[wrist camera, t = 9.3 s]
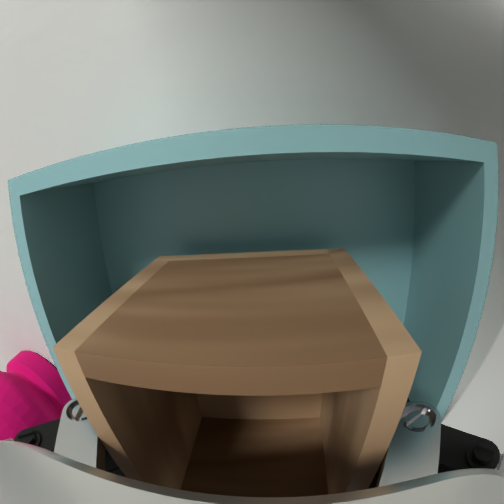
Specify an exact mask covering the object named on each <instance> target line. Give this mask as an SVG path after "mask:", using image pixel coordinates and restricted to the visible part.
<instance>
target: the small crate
mask: <svg viewBox="0 0 504 504" xmlns="http://www.w3.org/2000/svg"><path fill="white" fill-rule="evenodd" d="M53 349H54V352H55V354H56V357H57V359H58V361H59V363H60V366H61V368H62V370H63V372H64V375H65V377H66V379H67V381H68V383H69V385H70V387H71V389H72V391H73V393H74V395H75V397H76V399H77V401H78V403H79V404H80V406H81V408H82V410H83V412H84V414H85V415H86V417H87V419H88V421H89V422H90V424H91V426H92V427H93V429H94V431H95V432H96V434H97V435H98V437H99V439H100V440H101V442H102V443H103V445H104V446H105V448H106V449H107V451H108V452H109V454H110V455H111V457H112V458H113V460H114V461H115V462H116V464H117V465H118V467H119V468H120V469H121V471H122V472H123V473H124V475H125V476H126V477H127V478H130V479H133V480H137V481H141V482H145V483H150V484H154V485H159V486H163V487H168V488H174V489H179V490H185V491H192V492H199V493H206V494H215V495H225V496H239V497H305V496H319V495H329V494H338V493H345V492H352V491H359V490H365V489H368V487H369V486H370V484H371V482H372V480H373V478H374V476H375V474H376V472H377V470H378V468H379V466H380V464H381V462H382V460H383V458H384V456H385V454H386V451H387V449H388V447H389V445H390V442H391V440H392V438H393V435H394V433H395V431H396V428H397V426H398V423H399V421H400V418H401V415H402V413H403V410H404V407H405V405H406V402H407V399H408V396H409V393H410V390H411V387H412V384H413V381H414V377H415V374H416V371H417V367H418V364H419V360H420V356H421V353H422V351H421V350H420V348H419V347H418V345H417V344H416V342H415V341H414V340H413V338H412V337H411V335H410V334H409V332H408V331H407V330H406V328H405V327H404V325H403V324H402V323H401V321H400V320H399V318H398V317H397V316H396V314H395V313H394V312H393V310H392V309H391V308H390V306H389V305H388V304H387V302H386V301H385V300H384V298H383V297H382V296H381V294H380V293H379V292H378V290H377V289H376V288H375V286H374V285H373V284H372V282H371V281H370V280H369V279H368V277H367V276H366V275H365V273H364V272H363V271H362V270H361V268H360V267H359V266H358V265H357V263H356V262H355V261H354V260H353V258H352V257H351V256H350V255H349V253H348V252H347V251H346V250H345V249H344V248H335V249H312V250H290V251H267V252H244V253H221V254H198V255H175V256H159V257H158V258H156V259H155V260H154V261H153V262H151V263H150V264H149V265H148V266H146V267H145V268H144V269H143V270H142V271H140V272H139V273H138V274H137V275H135V276H134V277H133V278H132V279H130V280H129V281H128V282H127V283H126V284H124V285H123V286H122V287H121V288H120V289H118V290H117V291H116V292H115V293H114V294H112V295H111V296H110V297H109V298H108V299H107V300H105V301H104V302H103V303H102V304H101V305H100V306H98V307H97V308H96V309H95V310H94V311H93V312H91V313H90V314H89V315H88V316H87V317H86V318H85V319H83V320H82V321H81V322H80V323H79V324H78V325H77V326H76V327H74V328H73V329H72V330H71V331H70V332H69V333H68V334H67V335H65V336H64V337H63V338H62V339H61V340H60V341H59V342H58V343H57V344H56V345H55V346H53Z"/></svg>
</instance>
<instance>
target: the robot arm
mask: <svg viewBox="0 0 504 504" xmlns="http://www.w3.org/2000/svg"><path fill="white" fill-rule="evenodd" d="M0 504H504V454H500V453H499V449H498V448H497V446H496V445H495V444H494V443H493V442H492V441H489V440H487V439H484V438H480V437H478V436H475V435H472V434H468V433H466V432H463V431H460V430H457V429H454V428H451V427H448V426H445V425H443V424H441V416H440V413H439V411H438V409H437V408H436V407H434V406H433V405H432V404H430V403H428V402H424V401H410V400H409V398H408V399H407V402H406V405H405V407H404V410H403V413H402V415H401V418H400V421H399V423H398V426H397V428H396V431H395V433H394V435H393V438H392V440H391V442H390V445H389V447H388V449H387V451H386V454H385V456H384V458H383V460H382V462H381V464H380V466H379V468H378V470H377V472H376V474H375V476H374V478H373V480H372V482H371V484H370V486H369V487H368V489H365V490H359V491H352V492H345V493H338V494H329V495H319V496H305V497H239V496H225V495H215V494H206V493H199V492H192V491H185V490H179V489H174V488H168V487H163V486H159V485H154V484H150V483H145V482H141V481H137V480H133V479H130V478H127V477H126V476H125V475H124V473H123V472H122V471H121V469H120V468H119V467H118V465H117V464H116V462H115V461H114V460H113V458H112V457H111V455H110V454H109V452H108V451H107V449H106V448H105V446H104V445H103V443H102V442H101V440H100V439H99V437H98V435H97V434H96V432H95V431H94V429H93V427H92V426H91V424H90V422H89V421H88V419H87V417H86V415H85V414H84V412H83V410H82V408H81V406H80V404H79V403H78V401H77V399H76V398H74V399H72V400H70V401H69V402H68V403H67V404H66V405H65V406H64V408H63V410H62V415H61V418H60V419H57V420H53V421H50V422H47V423H43V424H40V425H36V426H33V427H29V428H26V429H24V430H22V431H20V432H19V433H18V434H17V435H16V437H15V439H14V440H13V439H12V438H10V439H6V440H2V441H0Z"/></svg>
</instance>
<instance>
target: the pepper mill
mask: <svg viewBox="0 0 504 504" xmlns="http://www.w3.org/2000/svg"><path fill="white" fill-rule="evenodd" d="M70 400H72V398H71V396H70V394H69V392H68V391H67V389H66V387H65V385H64V383H63V380H62V378H61V376H60V374H59V372H58V370H57V369H56V368H55V367H54V366H53V365H52V364H51V363H50V362H48V361H47V360H46V359H45V358H43V357H42V356H40V355H38V354H37V353H34V352H31V351H21V352H20V353H19V354H18V355H16V356H15V357H14V358H13V359H12V360H11V361H10V362H9V363H8V364H7V372H2V371H0V441H2V440H6V439H10V438H12V439H13V440H14V439H15V437H16V435H17V434H18V433H19V432H20V431H22V430H24V429H26V428H29V427H33V426H36V425H40V424H43V423H47V422H50V421H53V420H57V419H60V418H61V415H62V410H63V408H64V406H65V405H66V404H67V403H68V402H69V401H70Z"/></svg>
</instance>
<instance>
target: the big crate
mask: <svg viewBox="0 0 504 504" xmlns="http://www.w3.org/2000/svg"><path fill="white" fill-rule="evenodd" d="M498 186H499V176H498V148H497V142H492V141H487V140H483V139H478V138H472V137H467V136H461V135H455V134H449V133H442V132H434V131H426V130H418V129H408V128H397V127H384V126H367V125H333V124H314V125H279V126H262V127H248V128H236V129H226V130H217V131H208V132H201V133H193V134H186V135H180V136H173V137H167V138H161V139H156V140H150V141H145V142H140V143H135V144H130V145H125V146H121V147H116V148H112V149H108V150H104V151H100V152H96V153H92V154H88V155H84V156H80V157H77V158H73V159H70V160H66V161H63V162H60V163H56V164H53V165H50V166H47V167H44V168H41V169H38V170H35V171H32V172H29V173H26V174H23V175H21V176H18V177H15V178H13V179H10V180H8V187H9V197H10V206H11V213H12V220H13V226H14V232H15V238H16V243H17V248H18V253H19V257H20V262H21V266H22V270H23V274H24V278H25V282H26V285H27V289H28V292H29V296H30V299H31V302H32V305H33V308H34V311H35V314H36V317H37V320H38V323H39V326H40V329H41V331H42V334H43V337H44V339H45V342H46V344H47V347H48V349H49V352H50V354H51V356H52V359H53V361H54V363H55V365H56V368H57V370H58V372H59V374H60V376H61V378H62V380H63V383H64V385H65V387H66V389H67V391H68V392H69V394H70V396H71V398H72V399H74V398H76V397H75V395H74V393H73V391H72V389H71V387H70V385H69V383H68V381H67V379H66V377H65V375H64V372H63V370H62V368H61V366H60V363H59V361H58V359H57V357H56V354H55V352H54V349H53V346H55V345H56V344H57V343H58V342H59V341H60V340H61V339H62V338H63V337H64V336H65V335H67V334H68V333H69V332H70V331H71V330H72V329H73V328H74V327H76V326H77V325H78V324H79V323H80V322H81V321H82V320H83V319H85V318H86V317H87V316H88V315H89V314H90V313H91V312H93V311H94V310H95V309H96V308H97V307H98V306H100V305H101V304H102V303H103V302H104V301H105V300H107V299H108V298H109V297H110V296H111V295H112V294H114V293H115V292H116V291H117V290H118V289H120V288H121V287H122V286H123V285H124V284H126V283H127V282H128V281H129V280H130V279H132V278H133V277H134V276H135V275H137V274H138V273H139V272H140V271H142V270H143V269H144V268H145V267H146V266H148V265H149V264H150V263H151V262H153V261H154V260H155V259H156V258H158V257H159V256H175V255H198V254H221V253H244V252H267V251H290V250H312V249H335V248H344V249H345V250H346V251H347V252H348V253H349V255H350V256H351V257H352V258H353V260H354V261H355V262H356V263H357V265H358V266H359V267H360V268H361V270H362V271H363V272H364V273H365V275H366V276H367V277H368V279H369V280H370V281H371V282H372V284H373V285H374V286H375V288H376V289H377V290H378V292H379V293H380V294H381V296H382V297H383V298H384V300H385V301H386V302H387V304H388V305H389V306H390V308H391V309H392V310H393V312H394V313H395V314H396V316H397V317H398V318H399V320H400V321H401V323H402V324H403V325H404V327H405V328H406V330H407V331H408V332H409V334H410V335H411V337H412V338H413V340H414V341H415V342H416V344H417V345H418V347H419V348H420V350H421V351H422V353H421V356H420V360H419V364H418V367H417V371H416V374H415V377H414V381H413V384H412V387H411V390H410V393H409V396H408V398H409V400H410V401H424V402H428V403H430V404H432V405H433V406H434V407H436V408H437V409H438V411H439V413H440V416H441V421H442V419H443V417H444V415H445V413H446V411H447V409H448V407H449V404H450V402H451V400H452V398H453V396H454V393H455V391H456V389H457V386H458V384H459V381H460V379H461V376H462V374H463V371H464V368H465V366H466V363H467V360H468V357H469V354H470V351H471V348H472V345H473V342H474V339H475V336H476V332H477V329H478V325H479V322H480V318H481V314H482V310H483V306H484V302H485V297H486V293H487V288H488V283H489V278H490V272H491V266H492V260H493V253H494V246H495V237H496V227H497V213H498Z"/></svg>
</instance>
